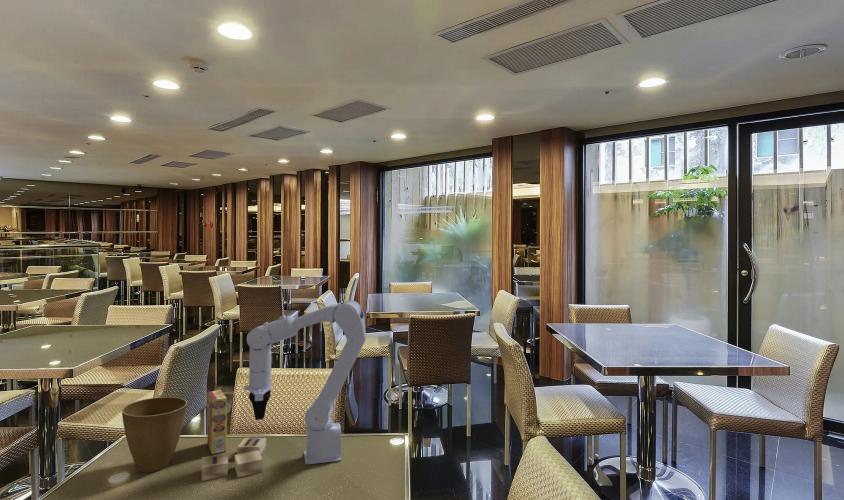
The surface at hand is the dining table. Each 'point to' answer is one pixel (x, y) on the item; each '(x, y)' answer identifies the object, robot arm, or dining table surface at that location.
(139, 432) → the plant pot
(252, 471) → the plain block
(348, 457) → the dining table surface
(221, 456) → the numbered block one
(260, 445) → the numbered block eleven
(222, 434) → the candy box
